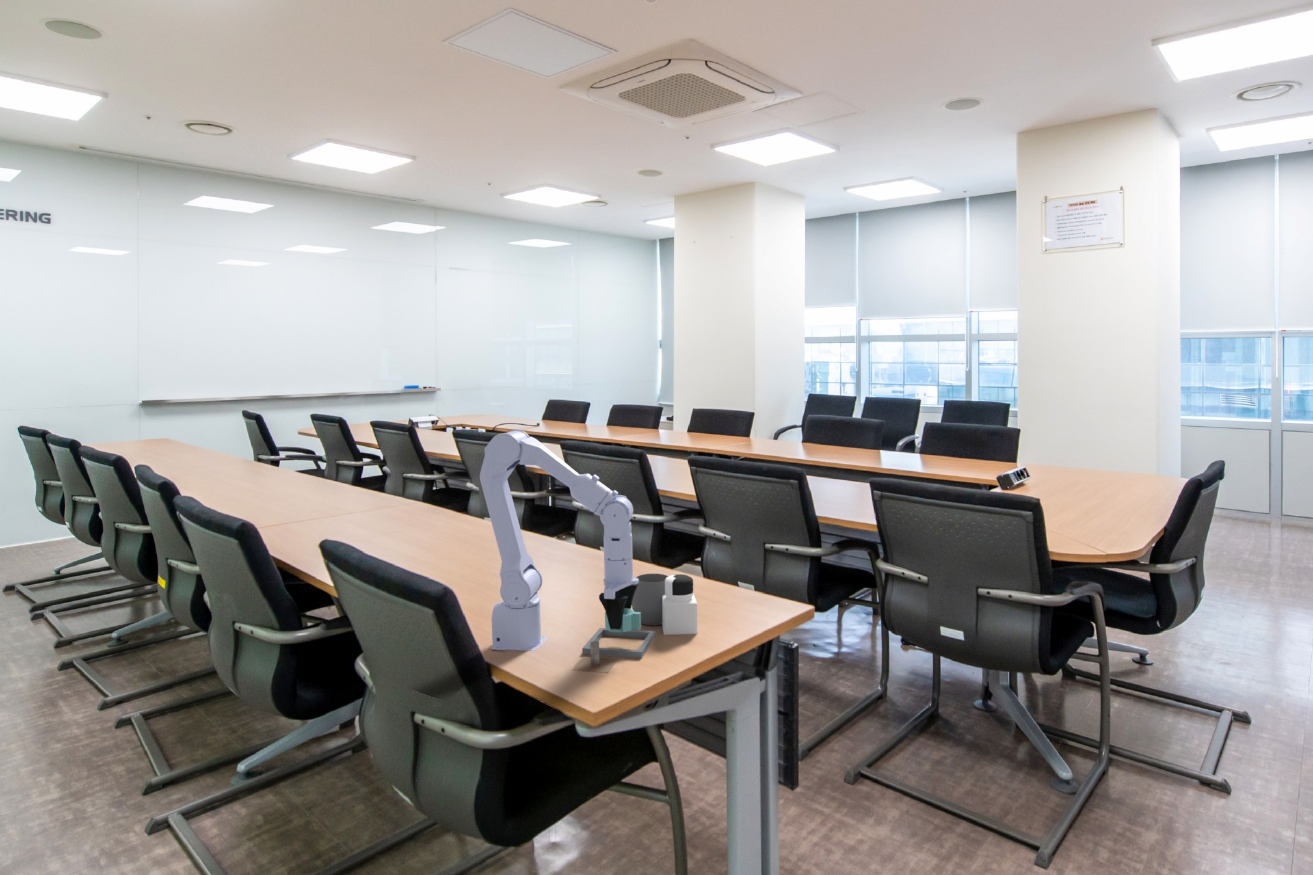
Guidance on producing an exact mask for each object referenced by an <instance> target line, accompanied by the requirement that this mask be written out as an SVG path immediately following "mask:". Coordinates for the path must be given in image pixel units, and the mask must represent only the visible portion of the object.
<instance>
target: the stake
mask: <svg viewBox="0 0 1313 875" xmlns="http://www.w3.org/2000/svg"><path fill="white" fill-rule="evenodd" d="M599 647H600V642H599V641H593V642H591V655H590V656H589V655H586V656H585V655H583V656H582V657H581V658H580V659H579V660H578V662H577V663H576V664H575V665H574V667H572V669H571V671H577V672H586V673H587V672H588V673H590V672H591V673H601V674H602V673H604V674H608V673H609V672H610V671H611V669H612V668H613V667H614V666H615V664H616V663H617V661H618V658H616V657H614V658H613V657H602V656H601V657H600V656H599Z"/></svg>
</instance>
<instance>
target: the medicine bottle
mask: <svg viewBox="0 0 1313 875" xmlns="http://www.w3.org/2000/svg"><path fill="white" fill-rule="evenodd" d="M695 596H696V595H695V594H694V579H693V577H691V576H690V575H686V574H672V575H669V577H667V578H666V579H665V595H663V596H662V624H661V625H662V632H663V635H664V636H667V635H668V636H669V635H697V634H698V602H697V599H696V597H695Z"/></svg>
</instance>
